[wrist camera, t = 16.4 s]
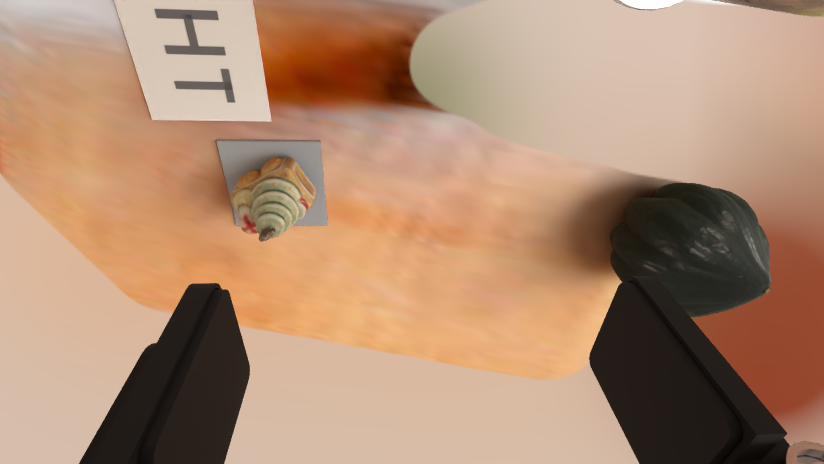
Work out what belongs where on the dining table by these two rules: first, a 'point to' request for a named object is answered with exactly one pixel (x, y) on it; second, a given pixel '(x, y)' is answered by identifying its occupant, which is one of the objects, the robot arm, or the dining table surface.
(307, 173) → the grey mat
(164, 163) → the dining table surface
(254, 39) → the tile
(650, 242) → the squash
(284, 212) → the ornament
